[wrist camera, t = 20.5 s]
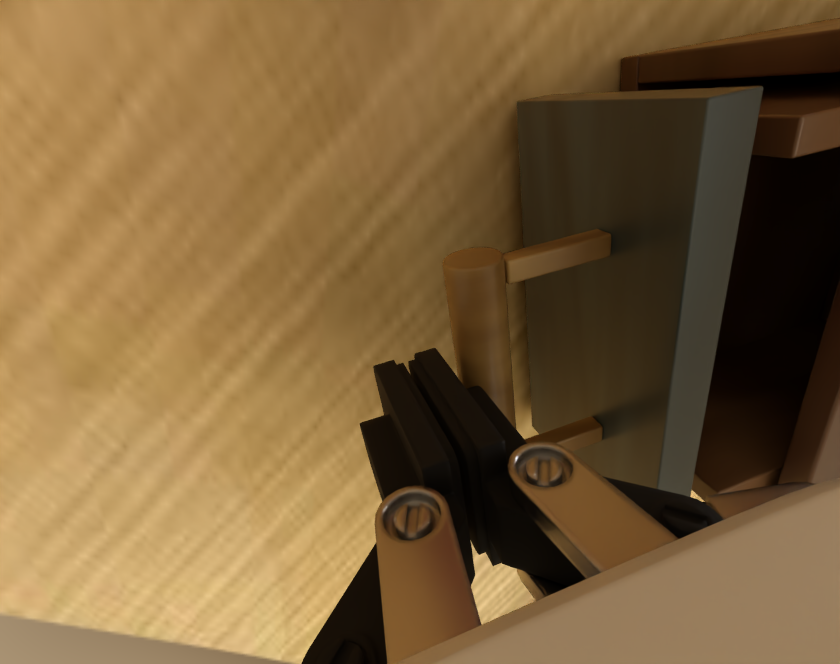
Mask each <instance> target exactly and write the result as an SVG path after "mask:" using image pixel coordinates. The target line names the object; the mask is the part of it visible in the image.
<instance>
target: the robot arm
mask: <svg viewBox="0 0 840 664" xmlns="http://www.w3.org/2000/svg"><path fill="white" fill-rule="evenodd" d="M414 358H415V359H414V360H411V361H409V370H410V374H409V372H408V370H407V368H406V367H405V365H404V363H401V364H398V365H397V364H396V363H395V361H394V360H392V361H388V362H385V363H382V364H378V365H375V366H373V368H374V373H375V378H376V382H377V386H378V390H379V395H380V399H381V403H382V407H383V412H384V416H381V417H377V418H374V419H371V420H368V421H365V422H362V423H360V427H361V431H362V435H363V439H364V442H365V446H366V450H367V453H368V457H369V460H370V464H371V467H372V470H373V474H374V477H375V480H376V483H377V486H378V489H379V492H380V495H381V499H382V503H381V504H380V506H379V508H378V510H377V512H376V515H375V533H376V544H375V545H374V547H373V549H372V550H371V552H370V553H369V555H368V556H367V558H366V560H365V561H364V563H363V564H362V566H361V568H360V569H359V571H358V572H357V574H356V575H355V577H354V579H353V580H352V582H351V583H350V585H349V586H348V588H347V590H346V591H345V593H344V594H343V596H342V598H341V599H340V601H339V602H338V604H337V605H336V607H335V609H334V610H333V612H332V613H331V615H330V616H329V618H328V620H327V621H326V623H325V624H324V626H323V628H322V629H321V631H320V632H319V634H318V635H317V637H316V639H315V640H314V642H313V643H312V645H311V646H310V648H309V650H308V651H307V653H306V655H305V657H304V659H303V662H302V664H840V478H838V479H834V480H830V481H826V482H822V483H818V484H814V483H810V482H789V483H783V484H777V485H770V486H764V487H758V488H752V489H746V490H739V491H733V492H727V493H721V494H715V495H708V496H706V499H705V502H701V501H699V500H697V499H694V498H691V497H688V496H685V495H681V494H677V493H673V492H668V491H664V490H660V489H655V488H651V487H647V486H642V485H638V484H633V483H629V482H625V481H620V480H616V479H612V478H607V477H603V476H601V475H600V474H599V473H598V472H597V471H595V470H594V469H593V468H592V467H590V466H589V465H588V464H587V463H585V462H584V461H583V460H582V459H581V458H579V457H578V456H577V455H576V454H574V453H573V452H572V451H571V450H569V449H567V448H566V447H564V446H562V445H559V444H556V443H553V442H545V441H539V442H531V443H528V444H527V442H526V441H525V440H524V439H523V437H522V436H521V435H520V434H519V433H518V431H517V430H516V429H515V428H514V426H513V425H512V424H511V423H510V421H509V420H508V419H507V418H506V417H505V415H504V414H503V413H502V412H501V410H500V409H499V408H498V407H497V406H496V404H495V403H494V402H493V401H492V399H491V398H490V397H489V396H488V394H487V393H486V392H485V391H484V390H483V388H481V387H480V386H478V385H477V386H474V387H471V388H468V389H466V388H465V386H464V385H463V384H462V383H461V381H460V380H459V379H458V377H457V376H456V375H455V373H454V372H453V371H452V369H451V368H450V367H449V365H448V364H447V363H446V361H445V360H444V359H443V357H442V356H441V355H440V353H439V352H438V351H437V349H436V348H432V349H429V350H425V351H422V352H419V353H415V355H414ZM470 540H471V541H470ZM471 542H472V544H473V546H474V548H475V550H476V551H477V553H478V554H479V555H480V554H482V553H485V552H486V554H487V555H488V557H489V559H490V561H491V563H492V565H493V566H494V565H497V564H499V563H502V564H505V565H507V566H510V567H513V568H516V569H517V573H518V575H519V577H520V579H521V581H522V582H523V584H524V585H525V586H526V588H527V589H528V590H529V592H530V593H531V594H532V595H533V597H534V598H535V599H536V601H535V602H533V603H531V604H528V605H526V606H524V607H521V608H519V609H517V610H515V611H512V612H510V613H508V614H505V615H503V616H501V617H499V618H496V619H494V620H492V621H490V622H487V623H485V624H483V625H481V622H480V618H479V615H478V611H477V608H476V604H475V600H474V597H473V593H472V589H471V584H472V582H473V579H474V577H475V570H474V564H473V554H472V548H471Z"/></svg>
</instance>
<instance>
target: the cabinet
mask: <svg viewBox="0 0 840 664" xmlns="http://www.w3.org/2000/svg"><path fill="white" fill-rule="evenodd" d="M835 72H840V18H835V19H830V20H824V21H819V22H814V23H808V24H803V25H797V26H792V27H786V28H781V29H775V30H770V31H764V32H759V33H754V34H748V35H743V36H737V37H732V38H726V39H721V40H715V41H710V42H705V43H699V44H694V45H688V46H683V47H677V48H672V49H666V50H661V51H655V52H650V53H645V54H639V55H634V56H628V57H624V58H622V64H621V85H620V92H625V91H649V90H674V89H698V88H715V87H720V86H725V85H730V84H735V83H739V82H744V81H749V80H754V79H759V78H763V77H768V76H785V75H801V74H818V73H835ZM838 478H840V279H839V282H838V285H837V289H836V292H835V295H834V298H833V302H832V305H831V308H830V312H829V315H828V318H827V322H826V325H825V328H824V331H823V335H822V338H821V341H820V345H819V348H818V351H817V355H816V358H815V361H814V365H813V368H812V371H811V374H810V378H809V381H808V384H807V388H806V391H805V394H804V398H803V401H802V404H801V408H800V411H799V414H798V417H797V421H796V424H795V427H794V431H793V434H792V437H791V441H790V444H789V447H788V450H787V454H786V457H785V460H784V464H783V467H782V470H781V474H780V477H779V480H778V484H783V483H789V482H810V483H814V484H818V483H822V482H826V481H830V480H834V479H838ZM776 485H777V484H776Z"/></svg>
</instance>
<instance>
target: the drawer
mask: <svg viewBox="0 0 840 664" xmlns="http://www.w3.org/2000/svg"><path fill="white" fill-rule="evenodd" d="M517 124H518V144H519V165H520V186H521V206H522V227H523V249H519V250H515V251H511V252H508V253H504V254H503V253H502V252H501V251H499V250H497V249H493V248H486V247H477V248H468V249H463V250H460V251H457V252H454V253H452V254H450V255H448V256H447V257H445V258H444V260H443V271H444V278H445V286H446V293H447V300H448V307H449V315H450V322H451V329H452V336H453V343H454V351H455V358H456V365H457V372H458V379H459V380H460V381H461V383H462V384H463V385H464V386H465V388H466V389H468V388H471V387H474V386H477V385H478V386H480V387H481V388H483V390H484V391H485V392H486V393H487V394H488V396H489V397H490V398H491V399H492V401H493V402H494V403H495V404H496V406H497V407H498V408H499V409H500V410H501V412H502V413H503V414H504V415H505V417H506V418H507V419H508V420H509V421H510V423H511V424H512V425H513V426H514V428H515V429H516V422H515V408H514V393H513V379H512V365H511V351H510V337H509V322H508V308H507V294H506V283H508V284H512V283H516V282H519V281H523V280H525V289H526V310H527V330H528V351H529V372H530V392H531V413H532V426H533V427H534V429H535V430H536V431H537V432H538V433H539V435H536V436H533V437H530V438H528V439H525V441H526V442H527V444H528V443H531V442H539V441H545V442H553V443H556V444H559V445H562V446H564V447H566V448H567V449H569V450H571V451H572V452H573V453H574V454H576V455H577V456H578V457H579V458H581V459H582V460H583V461H584V462H585V463H587V464H588V465H589V466H590V467H592V468H593V469H594V470H595V471H597V472H598V473H599V474H600V475H601V476H603V477H607V478H612V479H616V480H620V481H625V482H629V483H633V484H638V485H642V486H647V487H651V488H655V489H660V490H664V491H668V492H673V493H677V494H681V495H685V496H688V497H690V495H691V489H692V490H693V491H694V492H695V493H696V494H697V495H698V496H700V497H701V498H702V499H703V500H704V501H705V499H706V496H708V495H715V494H721V493H727V492H733V491H739V490H746V489H752V488H758V487H764V486H770V485H776V484H778V480H779V477H780V474H781V470H782V467H783V464H784V460H785V457H786V454H787V450H788V447H789V444H790V441H791V437H792V434H793V431H794V427H795V424H796V421H797V417H798V414H799V411H800V408H801V404H802V401H803V398H804V394H805V391H806V388H807V384H808V381H809V378H810V374H811V371H812V368H813V365H814V361H815V358H816V355H817V351H818V348H819V345H820V341H821V338H822V335H823V331H824V328H825V325H826V322H827V318H828V315H829V312H830V308H831V305H832V302H833V298H834V295H835V292H836V289H837V285H838V282H839V279H840V72H835V73H818V74H801V75H785V76H768V77H763V78H759V79H754V80H749V81H744V82H739V83H735V84H730V85H725V86H720V87H715V88H698V89H674V90H649V91H625V92H601V93H576V94H552V95H546V96H541V97H536V98H531V99H526V100H521V101H517Z"/></svg>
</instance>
